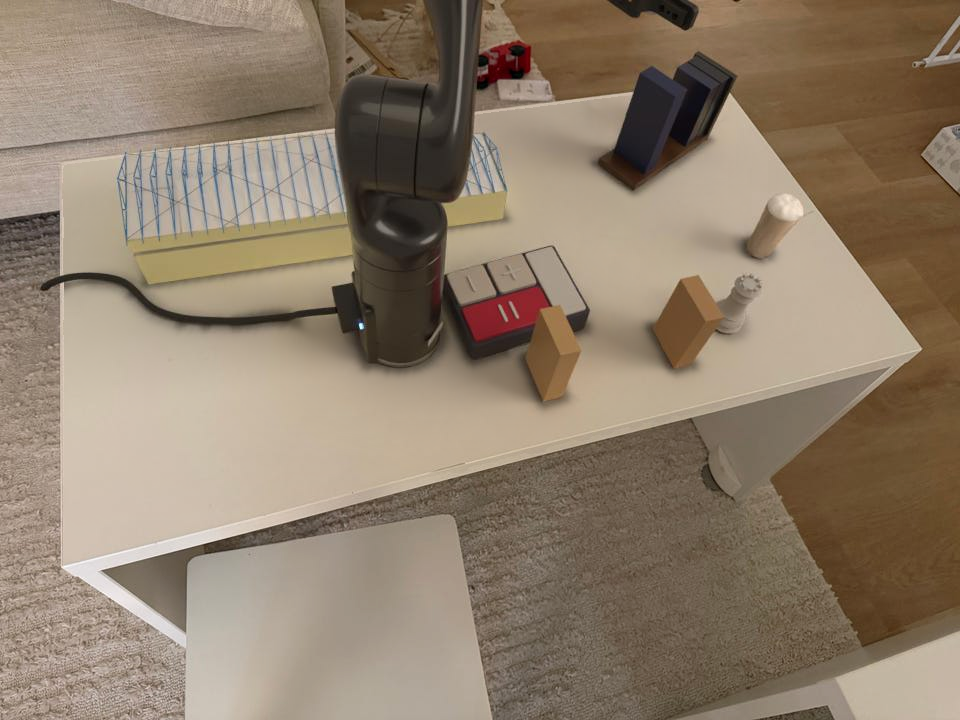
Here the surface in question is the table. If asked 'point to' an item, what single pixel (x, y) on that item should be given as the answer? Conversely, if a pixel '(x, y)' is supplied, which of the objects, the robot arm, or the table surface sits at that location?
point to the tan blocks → (676, 329)
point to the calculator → (511, 299)
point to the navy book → (649, 119)
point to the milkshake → (774, 224)
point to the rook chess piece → (738, 303)
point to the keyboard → (261, 205)
